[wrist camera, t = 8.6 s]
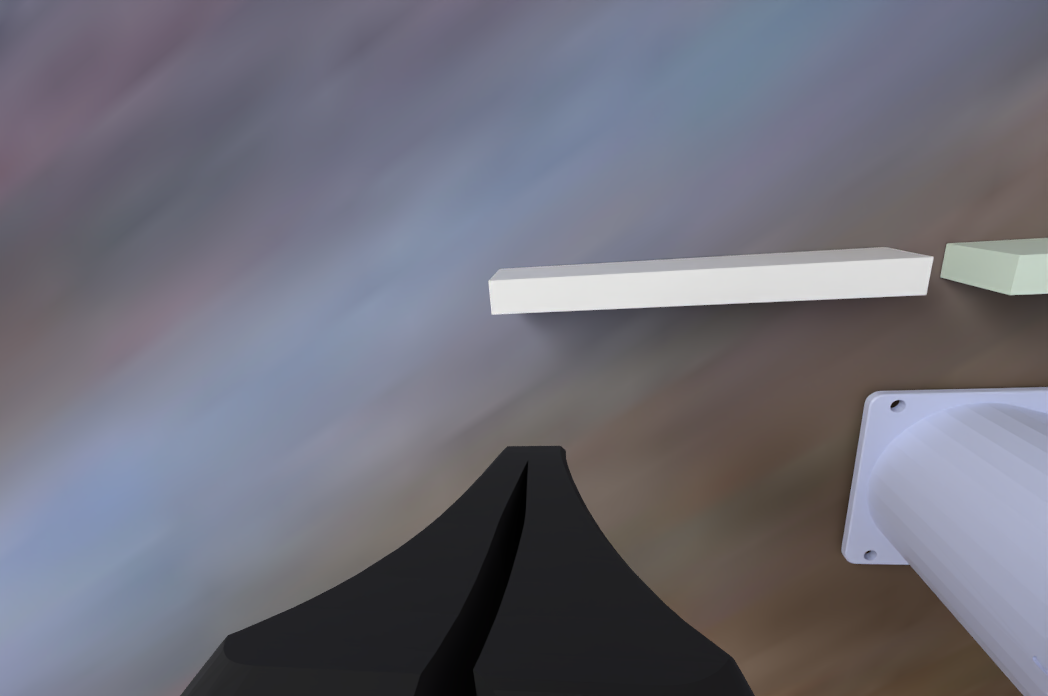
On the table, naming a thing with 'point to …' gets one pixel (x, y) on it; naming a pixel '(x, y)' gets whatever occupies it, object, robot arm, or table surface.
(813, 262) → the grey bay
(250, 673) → the robot arm
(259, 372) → the table surface
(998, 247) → the sage corral
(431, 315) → the table surface
